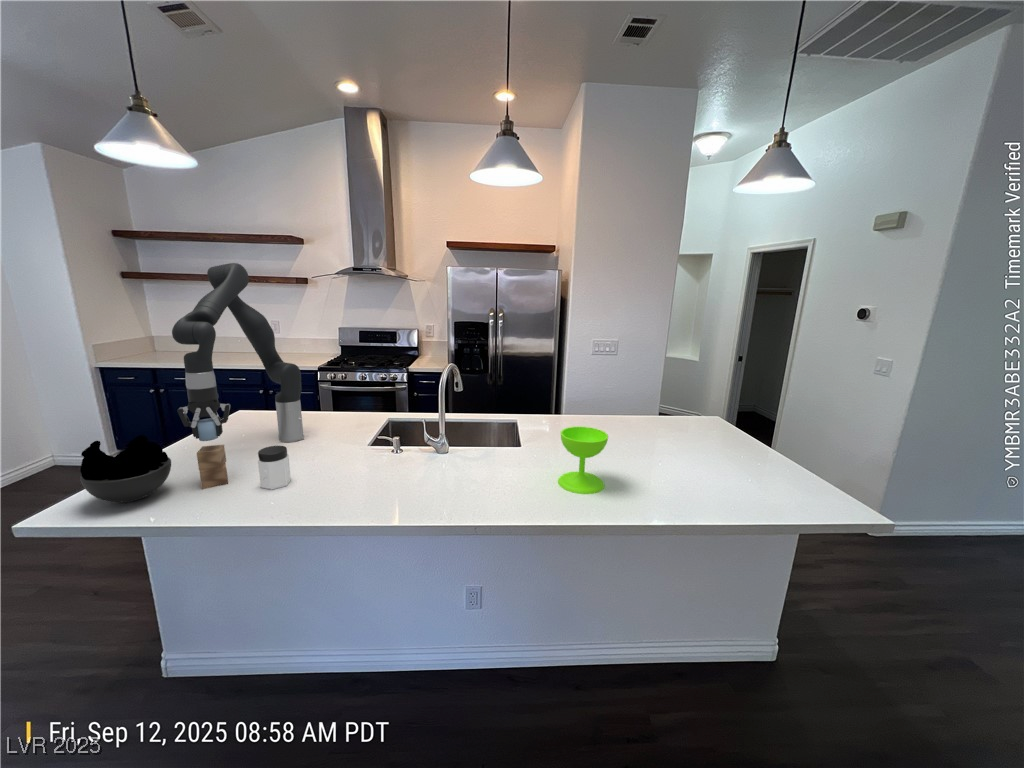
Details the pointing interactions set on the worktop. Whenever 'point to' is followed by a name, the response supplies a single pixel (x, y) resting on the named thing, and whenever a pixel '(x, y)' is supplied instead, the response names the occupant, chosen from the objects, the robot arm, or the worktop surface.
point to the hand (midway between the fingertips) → (208, 436)
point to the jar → (274, 467)
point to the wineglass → (582, 458)
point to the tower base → (213, 477)
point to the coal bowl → (124, 471)
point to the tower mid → (211, 457)
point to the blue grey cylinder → (207, 429)
